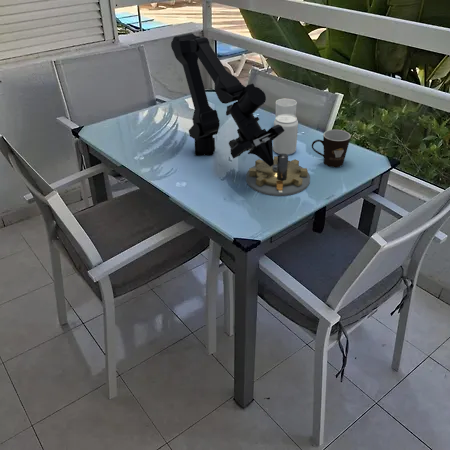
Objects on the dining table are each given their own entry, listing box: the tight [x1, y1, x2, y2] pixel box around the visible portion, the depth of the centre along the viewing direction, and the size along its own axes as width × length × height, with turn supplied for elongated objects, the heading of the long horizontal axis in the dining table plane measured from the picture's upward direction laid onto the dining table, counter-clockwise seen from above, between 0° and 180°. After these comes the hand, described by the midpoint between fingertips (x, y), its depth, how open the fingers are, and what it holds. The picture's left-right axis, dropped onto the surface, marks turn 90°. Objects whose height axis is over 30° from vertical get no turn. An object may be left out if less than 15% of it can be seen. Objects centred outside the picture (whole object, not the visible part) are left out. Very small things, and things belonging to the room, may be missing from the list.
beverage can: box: [272, 114, 299, 156], centre depth 164 cm, size 8×8×12 cm
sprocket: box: [248, 154, 309, 190], centre depth 147 cm, size 18×18×10 cm
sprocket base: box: [245, 165, 311, 197], centre depth 150 cm, size 20×20×1 cm
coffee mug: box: [311, 129, 352, 168], centre depth 156 cm, size 12×9×10 cm
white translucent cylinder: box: [275, 98, 298, 118], centre depth 180 cm, size 8×8×10 cm
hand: (272, 165), depth 142 cm, fingers closed
